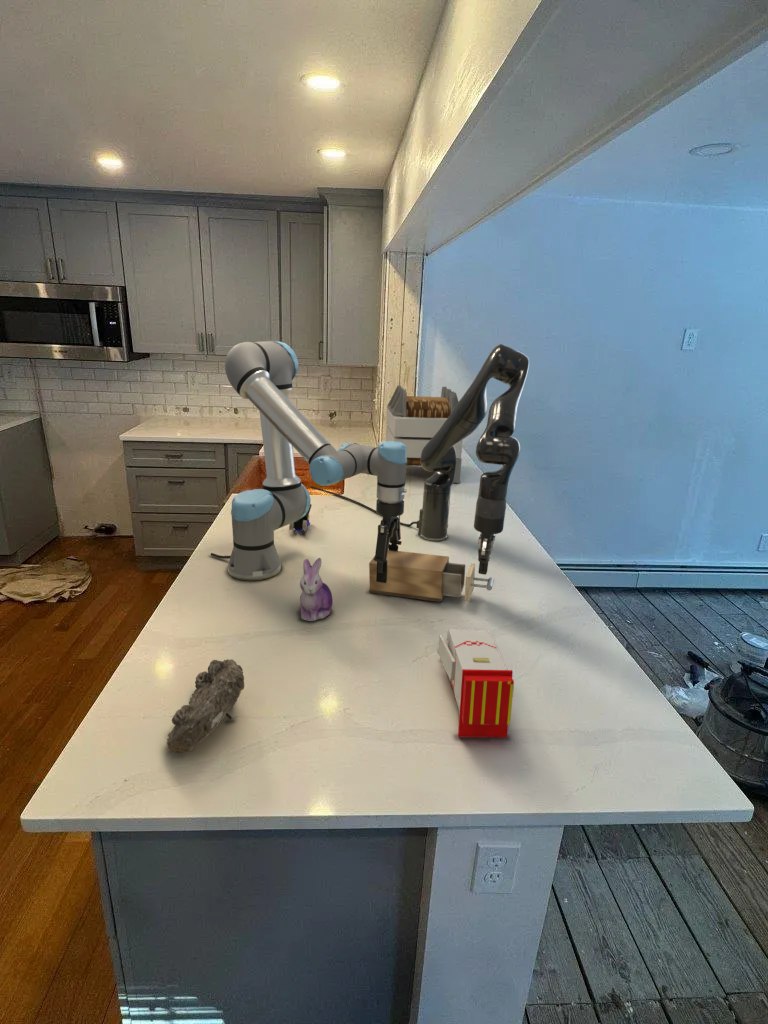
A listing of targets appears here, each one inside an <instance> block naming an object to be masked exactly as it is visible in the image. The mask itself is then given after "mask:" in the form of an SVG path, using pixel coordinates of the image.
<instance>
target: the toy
mask: <svg viewBox="0 0 768 1024" xmlns="http://www.w3.org/2000/svg"><path fill="white" fill-rule="evenodd" d="M446 640H447V643H446V641H445V639H444V636H443V635H442V634H439V637H438V646H437V656H438V657H439V659H440V661H441V663H442V666H443V668H444V670H445V672H446V674H447V677H448V679H449V681H450V684H451V687H452V690H453V693H454V697H455V701H456V705H457V708H458V711H459V714H458V715H459V716H458V730H457V731H458V732H457V737H458V738H508V731H509V726H510V725H511V717H512V707H513V697H514V696H513V695H514V684H515V680H514V679H513V673H514V671H513V670H512V669H508V667H507V665H506V662H505V661H504V659H503V658H502V655H501V653H500V651H499V649H498V647H497V643H496V639H495V637H494V635H493V634H491V632H490V631H489V629H467V628H466V629H465V628H463V629H461V628H460V629H459V628H448V630H447V639H446Z"/></svg>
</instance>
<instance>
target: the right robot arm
mask: <svg viewBox="0 0 768 1024" xmlns="http://www.w3.org/2000/svg"><path fill="white" fill-rule="evenodd" d="M529 368H530V358H529V356H527V355H526V354H524V353H523V352H520V351H518V350H517V349H515V348H513V347H510V346H508V345H507V344H503V343H499V344H497V345H495V347H494V348H493V349H492V350H491V351H490V353H489V354H488V356H487V358H486V359H485V361H484V362H483V364H482V366H481V368H480V370H479V371H478V372H477V374H476V376H475V378H474V379H473V381H472V383H471V384H470V385H469V387H468V388H467V390H466V391H465V392H464V394H463V395H462V396H461V398H460V399H459V400H458V403H457V405H456V406H455V408H454V409H453V411H452V412H451V414H450V415H449V417H448V418H447V420H446V421H445V422H444V424H443V425H442V427H441V428H440V429H439V431H438V432H437V433H436V434H435V436H434V437H433V438H432V439H431V440H430V441H429V442H428V443H427V444H426V445H425V447H424V448H423V450H422V452H421V456H420V462H421V466H420V467H422V469H423V470H424V471H427V472H430V473H431V472H432V473H433V472H434V473H433V474H431V476H429V477H427V478H426V479H425V480H424V482H423V493H422V496H423V497H422V506H421V508H420V509H419V516H418V520H417V521H412V522H411V523H404V522H401V521H400V526H405V527H412V526H413V525H416V528H415V529H418V530H417V535H418V536H420V538H421V539H424V540H426V541H432V542H440V541H444V540H446V539H447V538H448V529H449V517H450V516H449V514H450V504H451V494H452V493H451V491H452V486H453V484H454V483H453V481H454V475H455V468H456V459H457V457H456V450H455V448H454V445H455V444H457V443H458V442H460V441H461V440H462V441H463V440H464V439H466V438H468V437H469V436H470V435H472V434H473V433H474V432H475V431H476V429H477V428H478V427H479V425H480V424H482V422H483V421H484V419H485V418H486V416H487V412H488V416H487V422H486V427H485V429H484V431H483V433H482V434H481V436H480V437H479V439H478V441H477V443H476V447H475V455H476V458H477V460H478V461H479V462H480V463H483V464H488V465H497V466H502V467H501V468H499V469H498V470H491V471H490V470H489V471H485V472H483V473H482V474H481V475H480V478H479V485H478V487H479V488H478V494H477V499H476V503H475V511H474V512H475V513H474V521H473V527H474V530H475V531H476V532H478V533H480V534H479V536H478V542H477V544H478V548H477V553H478V555H477V557H478V558H477V560H478V562H479V563H478V571H477V573H478V575H487V573H488V570H489V562H490V559H491V555H492V552H493V550H494V545H495V541H496V535H498V534H501V533H502V532H503V531H504V524H505V517H506V511H507V494H508V487H509V481H510V477H511V475H512V472H513V469H514V467H515V465H516V463H517V461H518V458H519V457H520V453H521V443H520V442H519V440H518V439H517V438H516V437H513V435H514V432H515V430H516V429H515V428H516V420H517V411H518V405H519V402H520V400H521V396H522V392H523V390H524V386H525V383H526V379H527V377H528V372H529ZM491 379H495V380H496V381H499V382H501V383H503V384H505V385H508V389H507V390H506V391H504V392H503V393H501V394H500V395H499V396H497V397H496V398H495V399H494V400H493V401H492V403H491V405H490V407H489V410H488V399H487V386H488V383H489V381H490V380H491ZM309 488H310V489H313V490H317V491H319V492H324V493H327V494H330V495H334V496H336V497H339V498H342V499H345V500H347V501H350V502H352V503H355V504H357V505H360V506H361V507H363V508H365V509H367V510H369V511H371V512H373V513H375V514H376V515H379V514H378V513H377V512H376V509H374V508H372V507H370V506H368V505H365V504H364V503H361V502H359V501H357V500H354V499H352V498H350V497H347V496H345V495H342V494H339V493H336V492H332V491H329V490H326V489H322V488H319V487H317V486H313V485H310V487H309Z"/></svg>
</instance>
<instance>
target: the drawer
mask: <svg viewBox="0 0 768 1024" xmlns="http://www.w3.org/2000/svg"><path fill="white" fill-rule="evenodd" d="M475 581H478V582H486V584H478V583H475ZM494 584H495V578H493V577H489V578H484V577H476V563H475V562H470V564H469V567H468V570H467V573H466V564H464V563H457V562H449V563H448V562H447V564H446V566H445V569H444V571H443V573H442V595H444V596H445V597H453V598H461V596H462V593H463V591H464V601H465V602H470V601H471V598H472V594H473V591H474V588H482V589H486V590H487V591H491V590H493V586H494Z"/></svg>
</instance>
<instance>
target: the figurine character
mask: <svg viewBox="0 0 768 1024" xmlns="http://www.w3.org/2000/svg"><path fill="white" fill-rule="evenodd" d="M312 505H313V504H311V503H310V508H309V510H308V512H307V513H306V515H305V516H304V517H302V518H300V519H299V520H298V521H296V522H293V523H290V524H288V530H289V531H293V532H292V533H293V535H296V534H297V532H301V535H305V532H306V531H308V527H309V526H310V525H311V522H310V511H311V509H312Z"/></svg>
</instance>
